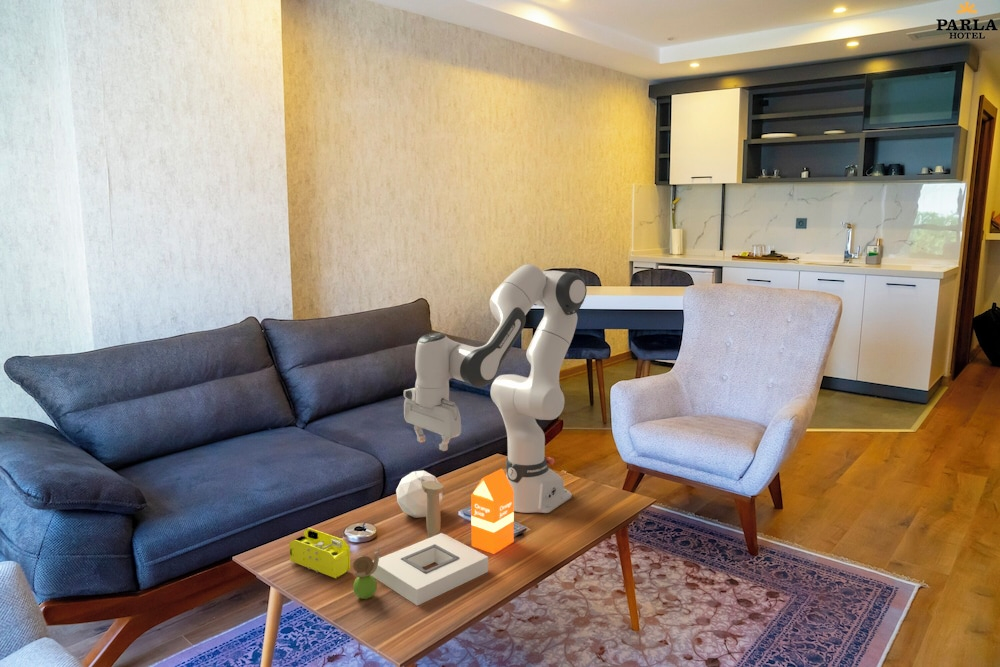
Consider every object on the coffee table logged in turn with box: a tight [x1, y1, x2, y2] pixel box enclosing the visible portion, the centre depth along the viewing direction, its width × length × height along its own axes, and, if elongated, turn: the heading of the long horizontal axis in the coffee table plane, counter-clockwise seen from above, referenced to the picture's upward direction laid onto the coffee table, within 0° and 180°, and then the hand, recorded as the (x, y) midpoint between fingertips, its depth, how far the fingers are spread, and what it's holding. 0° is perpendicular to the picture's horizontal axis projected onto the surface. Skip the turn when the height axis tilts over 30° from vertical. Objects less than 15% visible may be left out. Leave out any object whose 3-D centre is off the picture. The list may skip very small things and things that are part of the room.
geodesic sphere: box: [395, 469, 443, 519], centre depth 210 cm, size 14×14×14 cm
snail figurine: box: [352, 546, 381, 600], centre depth 167 cm, size 5×6×12 cm
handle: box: [422, 481, 445, 538], centre depth 197 cm, size 5×6×15 cm
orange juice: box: [470, 468, 515, 555], centre depth 192 cm, size 8×9×20 cm
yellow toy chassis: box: [289, 527, 351, 579], centre depth 181 cm, size 16×6×8 cm, turn 57°
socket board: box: [371, 532, 489, 606], centre depth 178 cm, size 22×18×4 cm
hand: (432, 445), depth 193 cm, fingers open, 8 cm apart
